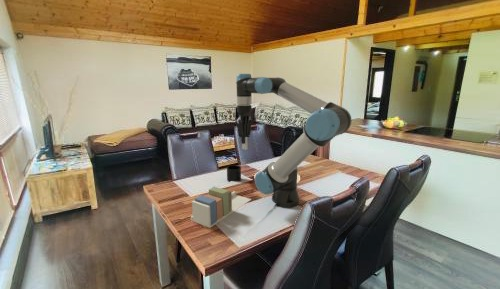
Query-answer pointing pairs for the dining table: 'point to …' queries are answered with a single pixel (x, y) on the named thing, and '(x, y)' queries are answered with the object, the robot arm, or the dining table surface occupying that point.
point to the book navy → (212, 204)
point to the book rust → (218, 206)
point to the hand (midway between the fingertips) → (244, 149)
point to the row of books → (203, 211)
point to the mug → (233, 173)
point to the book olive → (223, 195)
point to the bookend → (230, 201)
